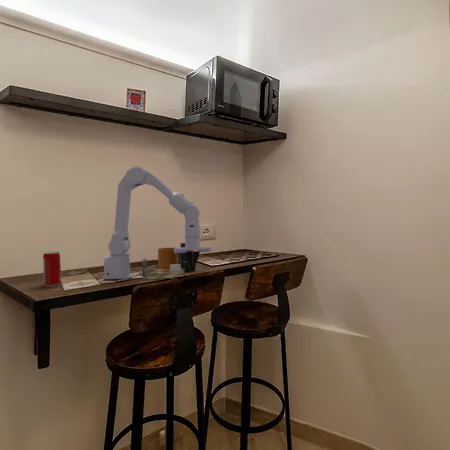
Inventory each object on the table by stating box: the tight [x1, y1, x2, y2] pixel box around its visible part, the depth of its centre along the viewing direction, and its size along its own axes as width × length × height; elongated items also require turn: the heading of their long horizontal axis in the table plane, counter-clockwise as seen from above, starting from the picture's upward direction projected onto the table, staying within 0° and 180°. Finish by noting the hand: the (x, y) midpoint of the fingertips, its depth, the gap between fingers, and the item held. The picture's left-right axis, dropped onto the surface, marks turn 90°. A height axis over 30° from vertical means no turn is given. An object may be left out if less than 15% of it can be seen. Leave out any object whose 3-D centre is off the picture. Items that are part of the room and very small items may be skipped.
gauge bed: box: [141, 258, 186, 280], centre depth 139 cm, size 16×7×7 cm, turn 98°
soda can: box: [42, 251, 62, 287], centre depth 127 cm, size 6×6×12 cm
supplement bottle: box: [178, 242, 193, 273], centre depth 153 cm, size 7×7×12 cm
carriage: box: [170, 264, 181, 272], centre depth 139 cm, size 4×4×4 cm
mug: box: [157, 247, 178, 270], centre depth 161 cm, size 9×12×9 cm
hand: (193, 270), depth 140 cm, fingers closed
